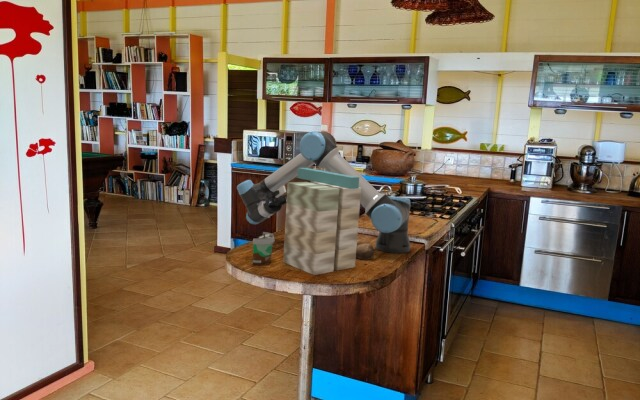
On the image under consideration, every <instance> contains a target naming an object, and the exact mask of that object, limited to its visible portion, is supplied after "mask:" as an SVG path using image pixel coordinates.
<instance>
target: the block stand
mask: <svg viewBox="0 0 640 400" xmlns="http://www.w3.org/2000/svg"><path fill="white" fill-rule="evenodd" d="M286 193H287V194H286V195H287V197H286V200H287V203H286V204H285V205H286V206H285V207H286V209H285V223H284V242H283V243H284V244H283V256H282V257H283V258H282V259H283V261H282V262H283V263H284V264H287V265H290V266H291V267H293V268H297V269H298V270H302V271H303V272H306V273H308V274H309V275H310V274H311V275H313V276H316V275H317V276H318V275H321V274H327V273H331V272H334V270H335V271H337V272H338V271H341V270H346V269H352V268H355V267H356V259H357V257H356V247H357V245H358V233H359V223H360V222H359V220H360V210H361V209H360V208H361V204H360V197H361V188H360V187H359V188H355V189H349V188H344V187H340V186H335V185H330V184H325V183H320V182H315V181H310V182H308V181H297V182H287V187H286Z"/></svg>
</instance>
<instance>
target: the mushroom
mask: <svg viewBox="0 0 640 400" xmlns="http://www.w3.org/2000/svg"><path fill="white" fill-rule="evenodd" d="M374 255H375V247H373V245H372V244H370V243H367V242H366V243H361V244H357V247H356V259H359V260H365V261H366V260H367V261H368V260H370V259H372V258H373V257H374Z"/></svg>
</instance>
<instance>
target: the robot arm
mask: <svg viewBox="0 0 640 400" xmlns="http://www.w3.org/2000/svg"><path fill="white" fill-rule="evenodd" d="M299 152H300V153H299V154H297V155H296V156H294V157H293V158H292V159H290V160H289V161H288V162H286V163H284V164H283V165H282V166H280V167H279V168H278V169H277V170H275V171H274V172H272V173H271V174H269V175H268V176H267V177H265V178H264V179H263V180H261V181H260V182H258V183H253V181H252V180H251V179H246V180H244V181H242V182H241V183H239V184H238V185H237V186H236V189H237V192H238V195H239V196H240V198H241V200H242V202H243V204H244V206H245V208H246V210H247V211H246V214H245V215H246V216H245V219H246V221H247V222H249V224H251V225H258V224H260V223H262V222H265V220H267V219H270V218H271V216H273V215H275V214H276V213H278V212H280V211H281V209H282V208H283V206H284V205H286V203H287V194H285V193H287V188H286V186H285V185H287V184H288V183H290V181H292V180H293V179H295V178H296V177H298V168H310V167H312V166H313V165H315V166H316V167H317V168H319V169H325V170H326V171H327V172H332V173H338V174H344V175H349V176H355V177H359V187H360V188H361V197H360V206H362V207H363V208H364V209H365V210H364V211H365V212H364V213H365V215H366V216H367V217H368V218H370V220H371V223H372V225H373V227H374V228H375V229H376V230H377V231H378V232H379V233H378V236H377V238H376V240H375V247H374V249H376V250H379V251H381V252H384V253H392V254H405V253H409V252H410V251H411V242H410V238H409V233H408V231H409V221H410V213H411V211H410V210H411V200H410V198H407V197H402V196H401V197H400V196H389V195H387V194H386V193H380V192H379V191H378V190H377V189H376V188H375V187H374V186H373V185H372V184H371V183H370V182H369V181H368V180H366V178H365V177H363V175H361V174H360V172H359V171H358V170H356V169H355V168H354V167H353V166H352V165H351V164H350V163H349V162H348V161H347V160H346V159H345V158H344V157H343V156H342V154H340V149H339V147H338V146H337V140H336V138H335V137H334V135H332V134H331V133H330V132H328V131H315V130H313V131H309V132H307V133H305V134H304V135H303V136H302V137H301V139H300V141H299Z"/></svg>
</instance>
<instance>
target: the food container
mask: <svg viewBox="0 0 640 400" xmlns="http://www.w3.org/2000/svg"><path fill="white" fill-rule="evenodd" d="M275 242H276V241H275V236H274V234H273V233H271V232H265V231H262V235H259V236H257V238H253V240H252V265H253V264H255V265H256V266H259V265H260V266H261V265H268V264H270V263H271V260H272V259H271V258H272V252H273V244H274V243H275ZM255 265H254V266H255Z"/></svg>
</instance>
